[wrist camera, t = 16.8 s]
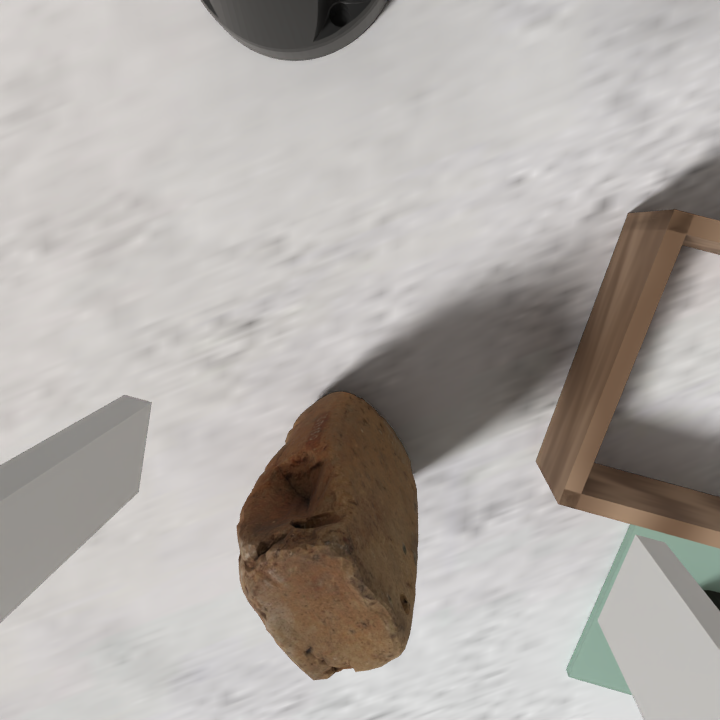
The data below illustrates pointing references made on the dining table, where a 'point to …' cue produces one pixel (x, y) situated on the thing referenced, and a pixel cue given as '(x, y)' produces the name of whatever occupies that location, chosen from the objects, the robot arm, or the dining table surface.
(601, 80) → the dining table surface
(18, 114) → the dining table surface
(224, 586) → the dining table surface
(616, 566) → the mat
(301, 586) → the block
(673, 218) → the frame
